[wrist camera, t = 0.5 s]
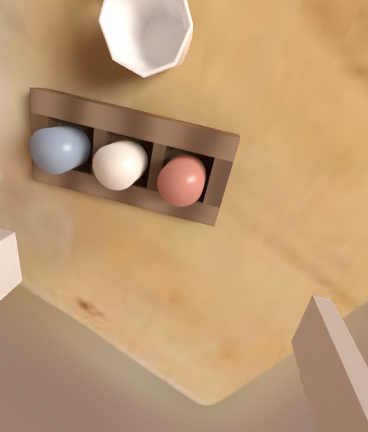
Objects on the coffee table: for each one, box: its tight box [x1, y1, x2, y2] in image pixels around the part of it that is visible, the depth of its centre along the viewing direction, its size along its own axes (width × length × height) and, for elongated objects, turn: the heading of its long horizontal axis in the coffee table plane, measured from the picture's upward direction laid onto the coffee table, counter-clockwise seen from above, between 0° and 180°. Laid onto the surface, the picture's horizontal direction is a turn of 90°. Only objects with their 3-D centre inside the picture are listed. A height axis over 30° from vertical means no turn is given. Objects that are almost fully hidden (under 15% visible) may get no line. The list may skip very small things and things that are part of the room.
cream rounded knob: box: [93, 139, 148, 190], centre depth 27 cm, size 4×4×4 cm
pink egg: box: [157, 154, 206, 207], centre depth 27 cm, size 4×4×4 cm
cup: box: [98, 0, 193, 78], centre depth 22 cm, size 7×10×8 cm
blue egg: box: [29, 125, 91, 174], centre depth 27 cm, size 4×4×4 cm
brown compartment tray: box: [30, 88, 240, 227], centre depth 30 cm, size 22×10×3 cm, turn 78°
